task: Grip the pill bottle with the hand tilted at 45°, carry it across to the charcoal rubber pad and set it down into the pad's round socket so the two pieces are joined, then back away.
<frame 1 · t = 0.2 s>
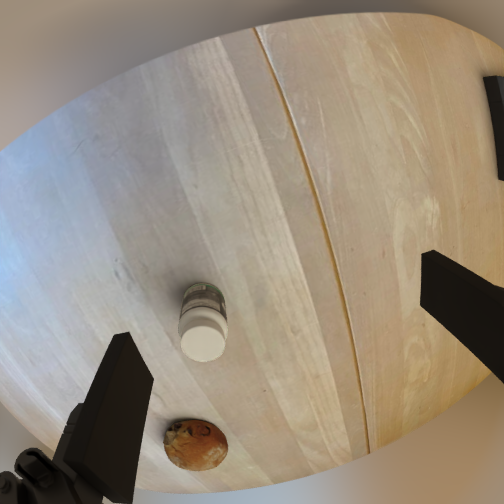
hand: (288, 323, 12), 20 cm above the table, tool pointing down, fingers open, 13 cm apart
pill bottle: (203, 300, 33), on the table
bread roll: (194, 435, 41), on the table
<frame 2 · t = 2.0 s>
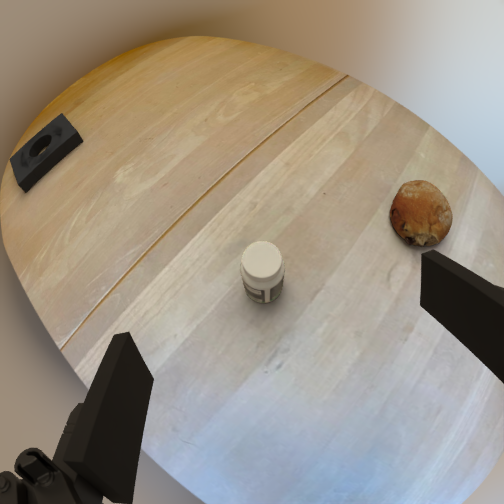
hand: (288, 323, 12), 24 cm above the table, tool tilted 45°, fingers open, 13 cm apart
back pad: (46, 154, 51), on the table
pill bottle: (263, 285, 38), on the table
bread roll: (415, 221, 41), on the table
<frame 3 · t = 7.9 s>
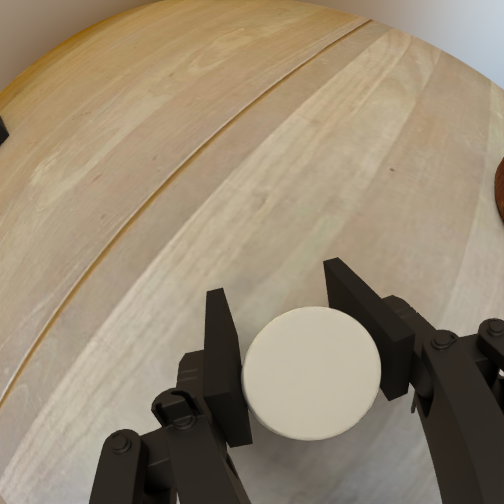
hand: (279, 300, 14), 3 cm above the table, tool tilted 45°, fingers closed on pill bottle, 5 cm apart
pill bottle: (296, 379, 15), on the table, touching gripper
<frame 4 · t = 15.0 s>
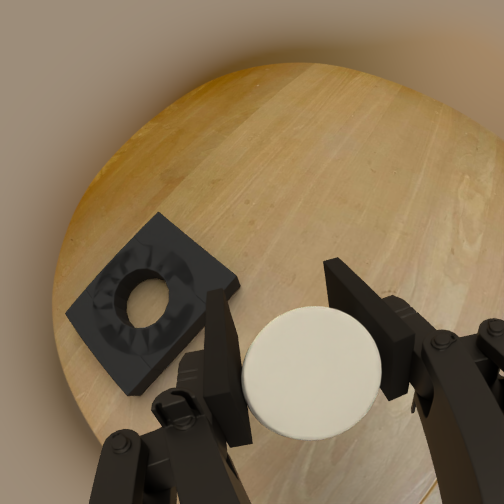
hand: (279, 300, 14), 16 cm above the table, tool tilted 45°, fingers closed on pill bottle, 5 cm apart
back pad: (151, 305, 31), on the table
pill bottle: (296, 379, 15), point 13 cm above the table, touching gripper
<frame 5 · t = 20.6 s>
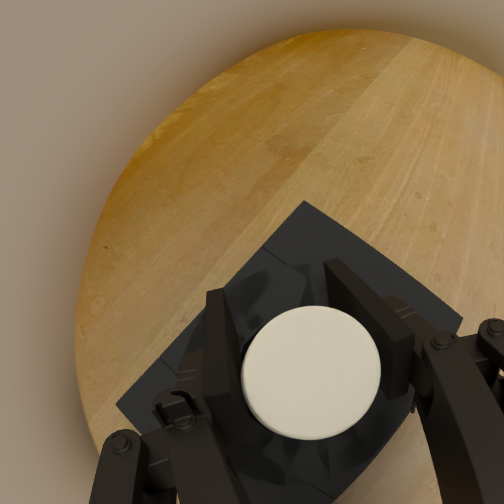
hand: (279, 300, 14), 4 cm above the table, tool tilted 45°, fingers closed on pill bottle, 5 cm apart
back pad: (296, 377, 16), on the table
pill bottle: (296, 378, 15), point 1 cm above the table, touching gripper
when the fingers open (4 cm above the table, at t = 22.4 s): pill bottle drops 1 cm, resting in back pad.
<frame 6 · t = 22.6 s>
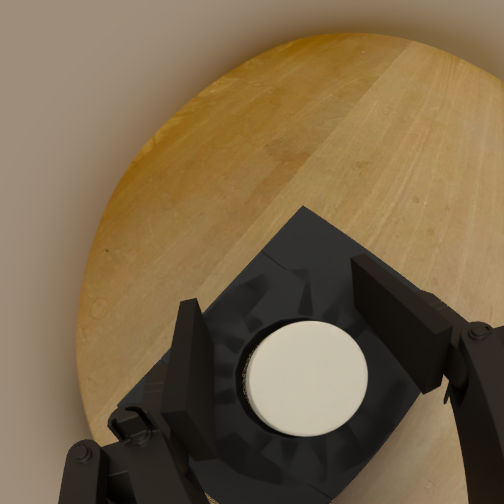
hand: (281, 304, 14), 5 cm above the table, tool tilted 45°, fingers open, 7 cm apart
back pad: (295, 379, 17), on the table
pill bottle: (295, 380, 17), resting in back pad
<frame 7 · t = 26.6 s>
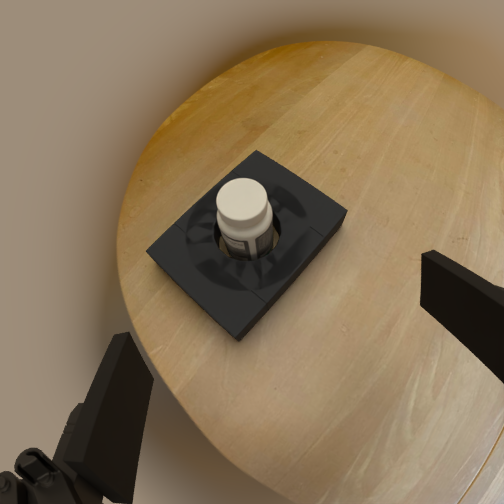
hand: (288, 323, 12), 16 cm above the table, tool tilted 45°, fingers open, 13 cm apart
back pad: (249, 243, 31), on the table
pill bottle: (249, 244, 31), resting in back pad
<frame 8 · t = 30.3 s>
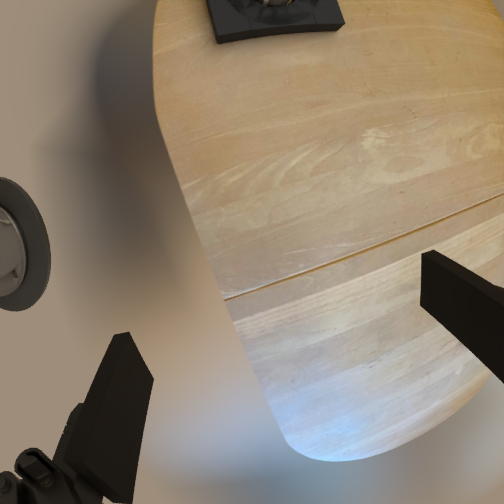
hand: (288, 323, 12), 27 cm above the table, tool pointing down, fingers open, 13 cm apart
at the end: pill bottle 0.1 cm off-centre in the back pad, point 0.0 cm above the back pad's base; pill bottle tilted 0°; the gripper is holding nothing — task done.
